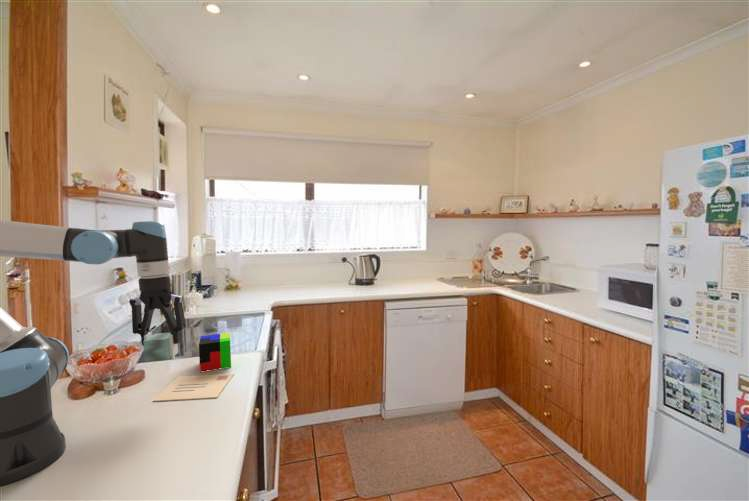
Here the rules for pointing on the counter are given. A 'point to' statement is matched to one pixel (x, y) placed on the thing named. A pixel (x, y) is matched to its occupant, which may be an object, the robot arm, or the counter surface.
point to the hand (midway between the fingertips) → (162, 355)
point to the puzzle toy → (214, 351)
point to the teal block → (157, 347)
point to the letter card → (195, 387)
